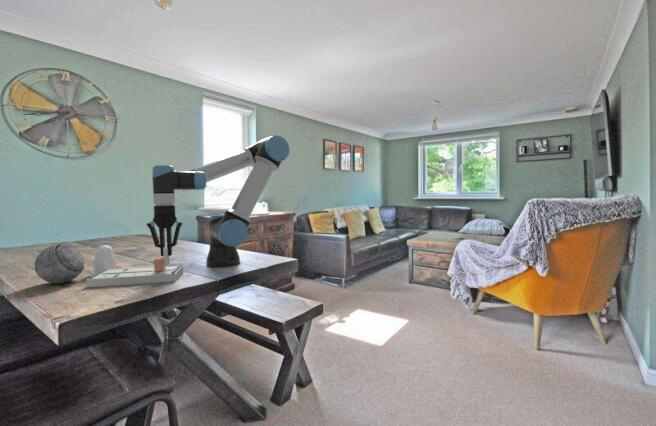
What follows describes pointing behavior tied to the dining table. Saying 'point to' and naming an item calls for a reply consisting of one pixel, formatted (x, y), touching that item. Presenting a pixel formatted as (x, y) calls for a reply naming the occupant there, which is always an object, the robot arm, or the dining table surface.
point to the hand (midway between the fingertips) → (166, 263)
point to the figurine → (104, 259)
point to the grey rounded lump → (59, 263)
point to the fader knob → (159, 264)
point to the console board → (134, 276)
